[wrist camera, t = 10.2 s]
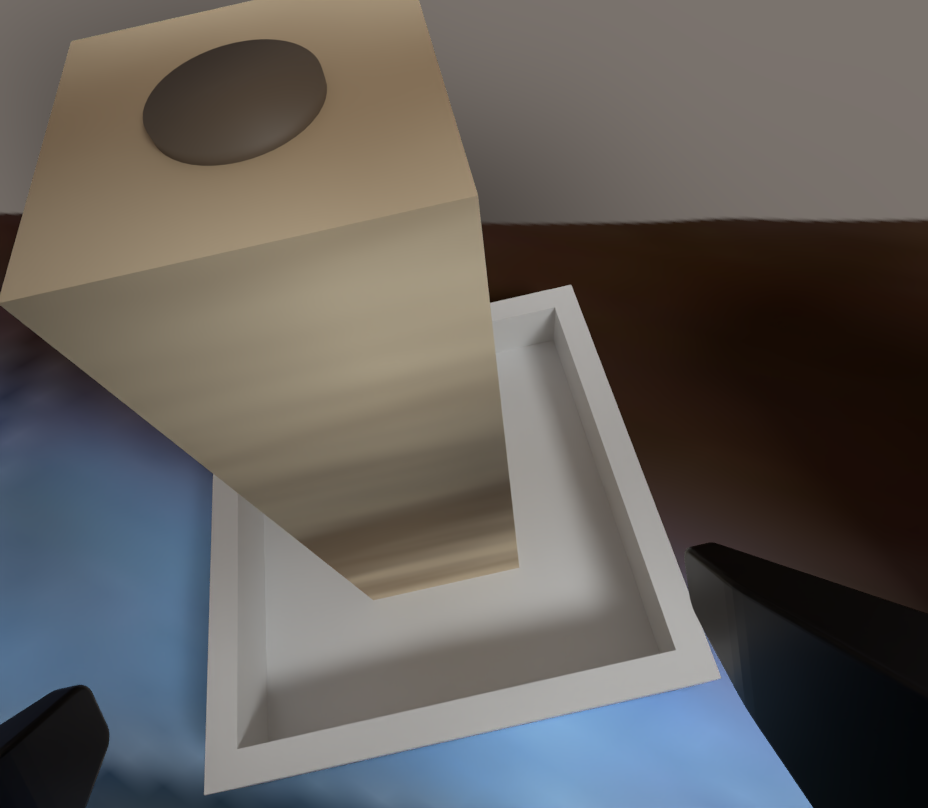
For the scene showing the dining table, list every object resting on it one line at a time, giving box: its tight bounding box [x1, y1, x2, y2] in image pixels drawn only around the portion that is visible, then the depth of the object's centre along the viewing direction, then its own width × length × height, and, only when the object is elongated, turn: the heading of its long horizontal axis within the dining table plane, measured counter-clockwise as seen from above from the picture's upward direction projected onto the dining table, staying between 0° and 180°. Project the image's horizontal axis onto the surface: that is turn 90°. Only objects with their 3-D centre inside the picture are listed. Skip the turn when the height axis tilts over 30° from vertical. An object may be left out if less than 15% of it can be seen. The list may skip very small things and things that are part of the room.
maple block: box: [0, 0, 519, 600], centre depth 12 cm, size 4×4×14 cm
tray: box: [204, 285, 721, 795], centre depth 18 cm, size 13×13×2 cm
